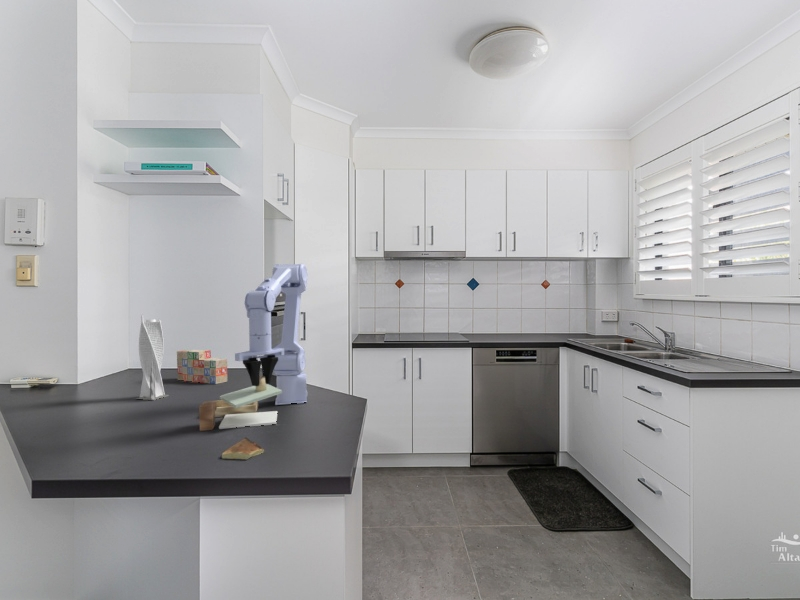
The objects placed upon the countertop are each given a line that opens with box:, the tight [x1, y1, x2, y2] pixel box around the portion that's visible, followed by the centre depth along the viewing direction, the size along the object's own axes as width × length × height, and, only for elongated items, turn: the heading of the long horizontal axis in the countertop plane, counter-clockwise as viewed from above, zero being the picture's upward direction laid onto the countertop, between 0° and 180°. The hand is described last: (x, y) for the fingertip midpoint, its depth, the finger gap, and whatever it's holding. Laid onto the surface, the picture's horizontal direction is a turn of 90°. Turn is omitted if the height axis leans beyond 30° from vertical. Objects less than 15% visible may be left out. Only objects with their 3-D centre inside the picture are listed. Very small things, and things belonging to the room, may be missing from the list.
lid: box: [219, 375, 282, 408], centre depth 121 cm, size 13×10×4 cm
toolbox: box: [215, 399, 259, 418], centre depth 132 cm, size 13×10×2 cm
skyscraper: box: [135, 314, 170, 401], centre depth 152 cm, size 8×8×28 cm
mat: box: [218, 410, 278, 430], centre depth 122 cm, size 14×12×1 cm
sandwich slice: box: [221, 437, 265, 460], centre depth 98 cm, size 11×8×2 cm
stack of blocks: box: [176, 349, 228, 385], centre depth 182 cm, size 21×6×12 cm, turn 65°
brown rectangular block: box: [198, 400, 217, 432], centre depth 117 cm, size 3×7×6 cm, turn 14°
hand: (261, 384), depth 123 cm, fingers closed on lid, 3 cm apart
